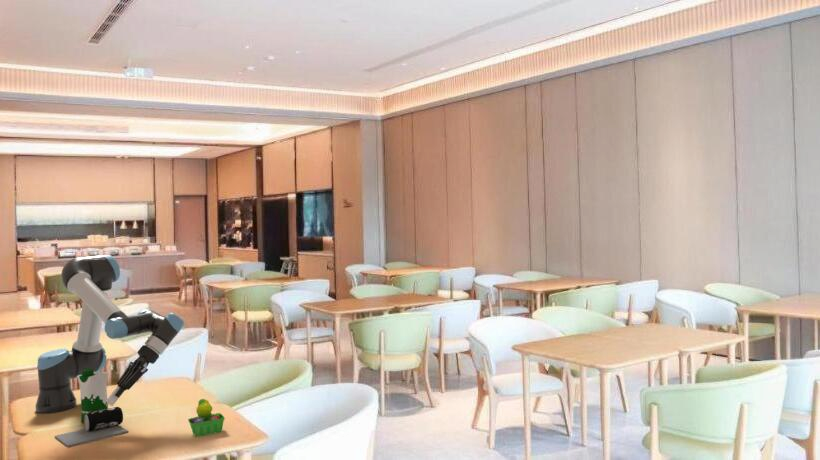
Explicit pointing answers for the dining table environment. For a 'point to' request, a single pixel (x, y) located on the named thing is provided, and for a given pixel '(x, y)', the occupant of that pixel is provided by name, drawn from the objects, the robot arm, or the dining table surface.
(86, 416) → the beverage can
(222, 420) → the fruit basket
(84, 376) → the milk carton
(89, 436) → the mat
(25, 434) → the dining table surface
